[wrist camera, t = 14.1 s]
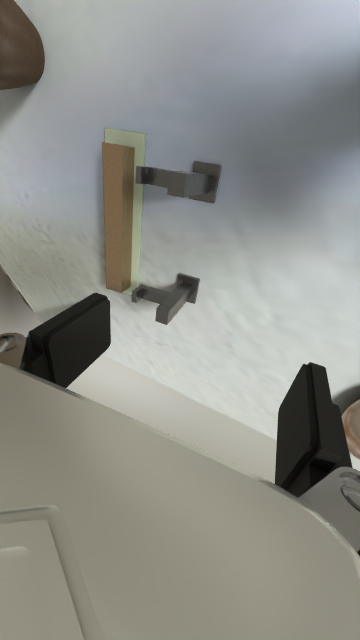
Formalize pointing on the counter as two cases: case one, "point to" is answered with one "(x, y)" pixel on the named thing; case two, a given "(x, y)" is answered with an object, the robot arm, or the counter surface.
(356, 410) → the plant saucer
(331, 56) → the counter surface
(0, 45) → the plant pot
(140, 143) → the board
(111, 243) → the rail
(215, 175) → the bracket
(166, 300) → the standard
